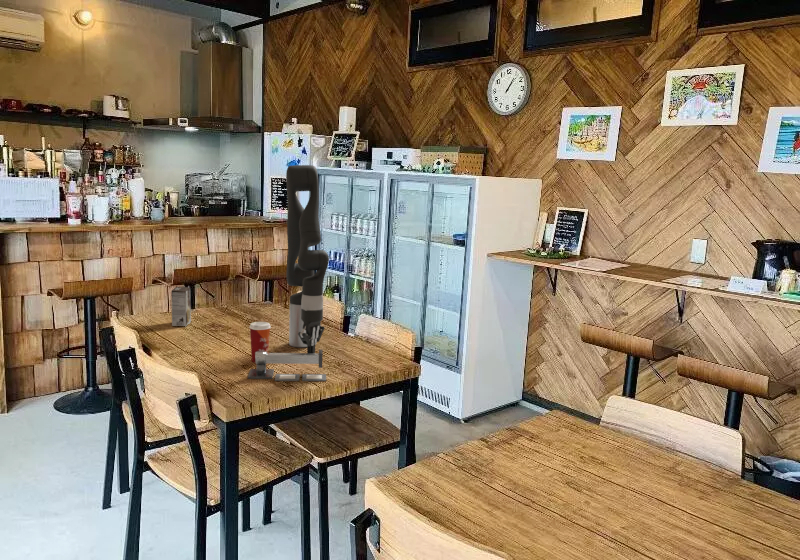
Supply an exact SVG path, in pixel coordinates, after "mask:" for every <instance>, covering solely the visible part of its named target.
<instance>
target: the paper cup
mask: <svg viewBox="0 0 800 560" xmlns="http://www.w3.org/2000/svg"><path fill="white" fill-rule="evenodd" d="M248 328H249V330H250V331H249V334H250V349H251V351H250V352H251V362H253V363H255V352H257V351H267V353H269V350H270V349H269V347H270V334H271V333H270V331H271V328H272V326H271V324H270V323H269V322H266V321H254V322H251V323H250V325H249V326H248ZM255 364H256V363H255Z"/></svg>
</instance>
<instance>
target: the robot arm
mask: <svg viewBox="0 0 800 560" xmlns="http://www.w3.org/2000/svg"><path fill="white" fill-rule="evenodd" d="M318 173H319V172H318V170H317V167H316V166H315V165H310V164H305V165H304V164H303V165H301V164H300V165H296V164H295V165H293V164H292V165H289V166H287V169H286V175H285V177H286V192H287V193H286V196H287V197H286V198H287V221H286V222H287V223H286V230H287V231H286V234H287V256H286V257H287V258H286V259H287V260H286V282H287V285H288V286H291V287H302V288H301V289H302V290H301V291H298V292H297V293H293V294H292V295H290V296H289V321H288V322H289V323H288V325H289V328H288V330H289V331H288V332H289V333H288V337H289V338H288V340H289V341H288V345H289V346H291V347H293V348H306V350H307V351H306V353H316V346H317V343H319V342H320V340H321V338H322V335H323V333H324V331H325V328H326V327H325V326H323V325H321V324H322V323H321V322H322V321H323V319H324V295H323V294H324V293H323V291H324V289H323V288H324V280H325V278H326V277H325V276H326V273H327V270H328V266H329V261H330V257H329V254H328V253H327V251H326V250H324V249H309V248H310V247H313V246H317V245H319V244H320V243H321V241H322V236H321V228H320V220H319V219H320V218H319V217H320V215H319V209H320V207H319V206H320V203H319V202H320V201H319V200H320V198H319V197H320V196H319V195H320V194H319V192H320V189H319V188H320V187H319V174H318ZM297 192H309V198H308V201H307V203H306V206H305V207H303V205H302V204H301V202H300V200H299V198H298V196H297Z"/></svg>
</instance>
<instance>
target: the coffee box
mask: <svg viewBox="0 0 800 560" xmlns="http://www.w3.org/2000/svg"><path fill="white" fill-rule="evenodd" d="M170 294H171V327H172V326H185V327H184V328H186V326H187V325H188V324H189V325H190V323H192V303H191V302H192V301H191V299H192V298H191V287H186V286H175V287H174V288H173V289H172V290H171V292H170ZM189 325H188V326H189ZM188 326H187V327H188Z"/></svg>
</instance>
